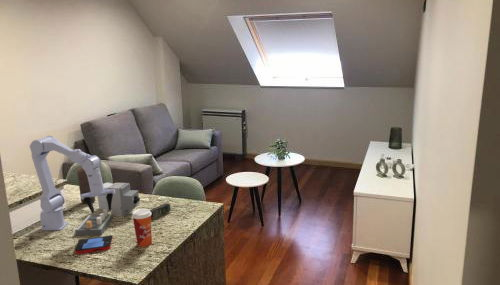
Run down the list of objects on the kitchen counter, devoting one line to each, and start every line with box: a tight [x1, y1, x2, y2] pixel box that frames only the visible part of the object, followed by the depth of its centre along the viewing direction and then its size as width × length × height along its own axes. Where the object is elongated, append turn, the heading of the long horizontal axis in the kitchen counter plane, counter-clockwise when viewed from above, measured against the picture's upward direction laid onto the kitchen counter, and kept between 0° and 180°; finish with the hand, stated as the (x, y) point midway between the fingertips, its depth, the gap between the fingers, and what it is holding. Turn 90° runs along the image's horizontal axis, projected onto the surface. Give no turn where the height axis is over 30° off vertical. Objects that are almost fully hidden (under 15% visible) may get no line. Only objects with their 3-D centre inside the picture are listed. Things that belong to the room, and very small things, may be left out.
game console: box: [74, 234, 114, 255], centre depth 176 cm, size 14×13×2 cm
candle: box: [76, 167, 96, 204], centre depth 221 cm, size 8×7×20 cm
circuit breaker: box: [108, 182, 141, 217], centre depth 207 cm, size 8×14×15 cm, turn 78°
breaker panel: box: [74, 209, 114, 236], centre depth 193 cm, size 12×17×6 cm
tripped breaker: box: [86, 221, 92, 229], centre depth 186 cm, size 2×2×3 cm
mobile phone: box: [149, 203, 172, 221], centre depth 204 cm, size 5×3×15 cm
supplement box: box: [97, 181, 114, 212], centre depth 215 cm, size 7×7×13 cm
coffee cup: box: [131, 208, 153, 248], centre depth 175 cm, size 8×8×15 cm
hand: (101, 210), depth 185 cm, fingers open, 7 cm apart
